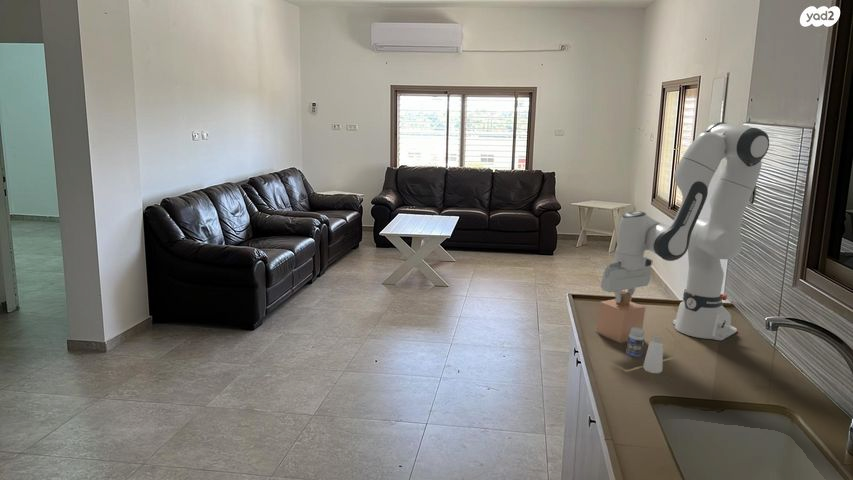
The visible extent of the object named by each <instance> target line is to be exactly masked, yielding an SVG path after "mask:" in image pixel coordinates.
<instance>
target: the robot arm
mask: <svg viewBox="0 0 853 480" xmlns="http://www.w3.org/2000/svg"><path fill="white" fill-rule="evenodd" d="M769 147H770V139H769V134H767V132H765V131H764V130H762V129H760V128H758V127H752V126H749V125H745V124H741V123H727V122H722V121H721V122H714V123H712V124H710V125H709V126H707V128H706V129H705V130H704V132H701V133H700V134H698V135H697V136H696V138H695V139H694V140H693V141H692V142H691V144H690V145H689V146H688V147H687V149H686V150H685V153H684V154H683V155H682V157H681V159H680V160H679V162H678V163H677V166H676V169H675V172H674V175H673V177H674V181H675V185H676V186H677V188H678V189H679V190H680V192H681V195H682V200H681V203H680V206H679V208H678V210H677V213H676V215H675V217H674V219H673V220H672V221H673V222H672V223H671V225H667V224H665V223H662V222H660V221H658V220H656V219H654V218H652V217H650V216H649V215H648V214H647V213H646V212H643V211H628V212H626V213H624V214H623V215H622V216H621V218H620V221H619V225H618V230H617V236H616V237H617V239H616V240H617V245H616V247H615V252H614V258H613V259H614V261H613V262H611V263H609V264H608V265H607V266H606V267H605V268H604V271H603V274H602V278H601V283H600V288H601V290H602V291H604V292H607V293H613V294H614V296H615V298H614V299H615V301H616V302H618V303H620V302H622V300H623V297H621V294H620V293H622V291H625V290H627V291H626V292H628V293H631V297H630V301H632V299H633V298H632V297H633V295H634V293H635V291H636V289H637V288H642V287H647V286H648V285H649V284H650V282H651V281H650V280H651V277H652V276H651V275H652V266H653V262H654V261H653V259H651V258H648V257H645V256H644V254H645V252H646V251H650V252H652V253H653V254H655V255H657V256H659V257H660V258H662V260H664V261H666V262H667V261H669V262H674V261H677V260H679V259H681V258H682V257H683V256H684V255H685V254H687V255H688V257H687V259H688V273H687V281H686V286H685V289H684V291H683V293H682V295H683V296H682V301H681V302H680V303H679V306H678V309H677V313H676V318H675V319H672V323H673V325H674V329H676V331H678V333H679V332H680V333H682V334H683V335H686V336H690V337H694V338H697V339H698V338H699V339H708V340H716V341H723V340H725V339H726V338H729V337H730V336H732V335H733V334H736V333H737V330H738V329H737V328H736V327H735V326H733V325H731V323H732V322H731V321H732V316H731V313H730V312H729V311H728V310H727V309H726V308H725V307H724V306H723V301H724V302H725V301H727V299H728V295H727V294H723V293H722V289H723V282H724V275H725V274H724V269H723V268H722V264H721V263H722V262H721V260H730V259H731V260H732V259H734V258H735V257H737V256H738V255H739V254H740V252H741V251H742V247H743V239H742V236H741V229H742V222H743V216H744V214H745V210H746V208H747V206H748V203H749V201H750V198H751V196H752V194H753V192H754V190H755V187H756V185H757V184H758V183H757V182H758V180H759V177H760V173H761V169H762V165H763V163H762V160H763V159H764V157H765V156H766V154H767V153H768V151H769ZM725 158H726V165H725V167H724V168H723V170H722V172H721V173H720V176H719V178H718V181H717V183H716V184H715V187H714V189H713V190H712V194H711V196H710V198H709V204H710V215H709V218H699V217H700V214H701V212H702V210H703V208H704V205H705V203H706V200H707V198H708V194H709V193H708V191H709V190H708V189H709V187H710V183H711V182H712V179H713V177H714V176H715V173H716V172H717V170H718V168H719V167H720V164H721V162H722V160H723V159H725Z"/></svg>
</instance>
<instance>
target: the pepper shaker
mask: <svg viewBox="0 0 853 480" xmlns="http://www.w3.org/2000/svg"><path fill="white" fill-rule="evenodd" d="M662 340H663V335H662V334H661V333H652V334H651V341H649V343H648V347H647V351H646V354H645V358H644V362H643V366H642V368H643V370H645V372H648V373H650V374H651V373H652V374H660V373H662V372H663V357H664V344H663V343H662Z"/></svg>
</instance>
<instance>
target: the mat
mask: <svg viewBox="0 0 853 480" xmlns="http://www.w3.org/2000/svg"><path fill="white" fill-rule="evenodd" d="M594 333H595V334H597V335H599V336H602V337H604V338H606V339H608V340H611V341H613V342H615V343H618V344H620V345H622V344H628V341H626V342H622V343H620V342H617V341H615V340H613V339H611V338H608V337H606V336H604V335H602V334H599V333H597V330H596V331H594Z"/></svg>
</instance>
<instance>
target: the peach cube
mask: <svg viewBox="0 0 853 480" xmlns="http://www.w3.org/2000/svg"><path fill="white" fill-rule="evenodd" d="M620 294H621V297H623V300H622V302H620V303H618V302H616V301H615V298H613V299H608V300H604V301H603V300H602V301H600V303H599V310H598V316H597V325H596V326H597V327H596V331H597V333H599V334H602V335H604V336H606V337H608V338H611V339H613V340H615V341H617V342H620V343H622V342H626V341H628V337H629V334H631V333H630V331H631V328H634V327H635V328H641V329H643V326H644V318H645V311H646V307H645V306H643V305H641V304H638V303H636V302H633V301H632V300H630V297H631V293H628V292H627V291H625V290H622V293H620ZM597 333H596V334H597ZM599 334H598V335H599ZM604 336H603V337H604ZM606 337H605V338H606ZM608 338H607V339H608ZM613 340H612V341H613ZM615 341H614V342H615ZM617 342H616V343H617Z"/></svg>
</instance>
